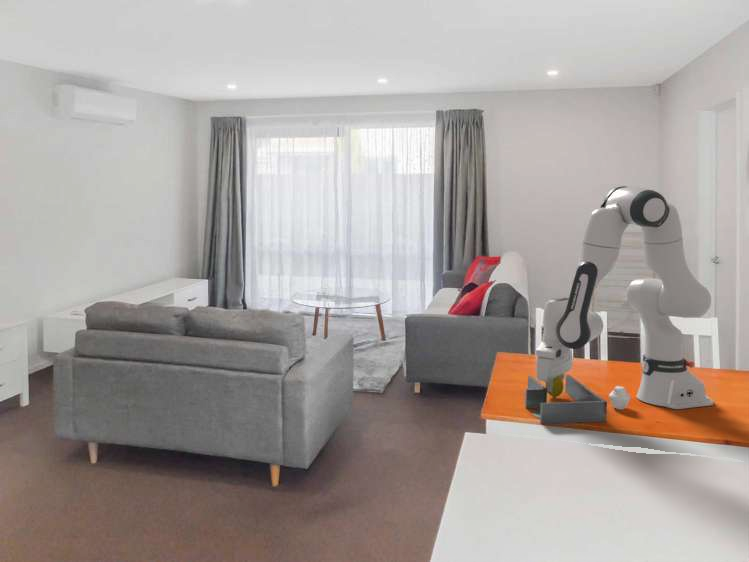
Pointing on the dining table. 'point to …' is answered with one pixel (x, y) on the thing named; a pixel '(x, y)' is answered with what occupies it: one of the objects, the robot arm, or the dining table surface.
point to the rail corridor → (565, 404)
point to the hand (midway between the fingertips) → (554, 388)
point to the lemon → (556, 387)
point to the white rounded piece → (619, 397)
